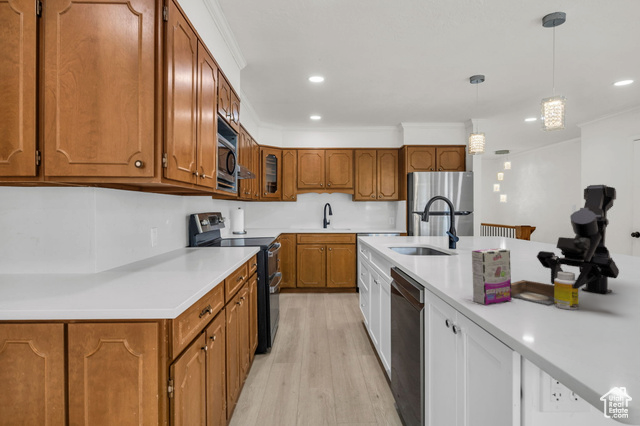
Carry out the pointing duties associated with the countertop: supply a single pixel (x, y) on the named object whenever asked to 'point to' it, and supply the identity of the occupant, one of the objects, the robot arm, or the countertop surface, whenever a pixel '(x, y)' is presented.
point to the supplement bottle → (565, 291)
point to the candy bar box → (491, 276)
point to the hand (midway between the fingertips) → (563, 285)
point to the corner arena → (533, 292)
